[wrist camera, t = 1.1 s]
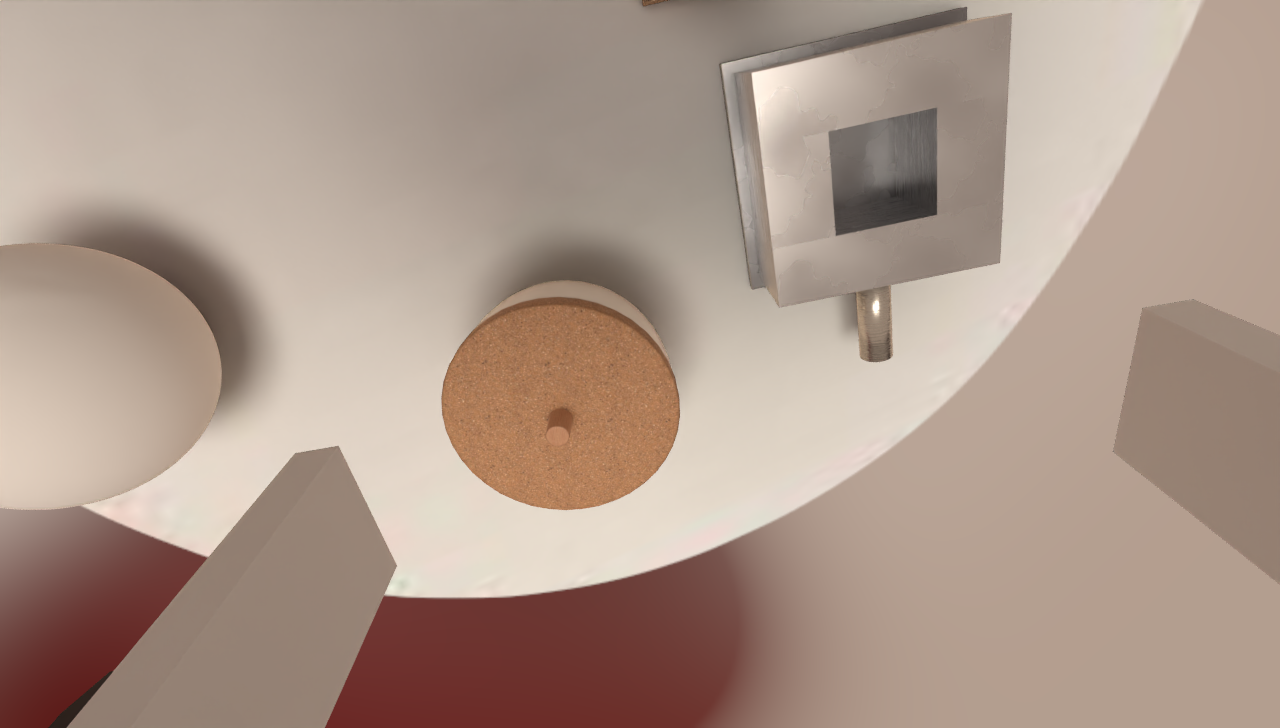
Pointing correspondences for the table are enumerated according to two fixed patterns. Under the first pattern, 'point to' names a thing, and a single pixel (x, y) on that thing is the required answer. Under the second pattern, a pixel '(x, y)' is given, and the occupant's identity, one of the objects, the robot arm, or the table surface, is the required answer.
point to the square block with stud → (871, 161)
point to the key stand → (651, 2)
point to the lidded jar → (562, 397)
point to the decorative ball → (95, 375)
